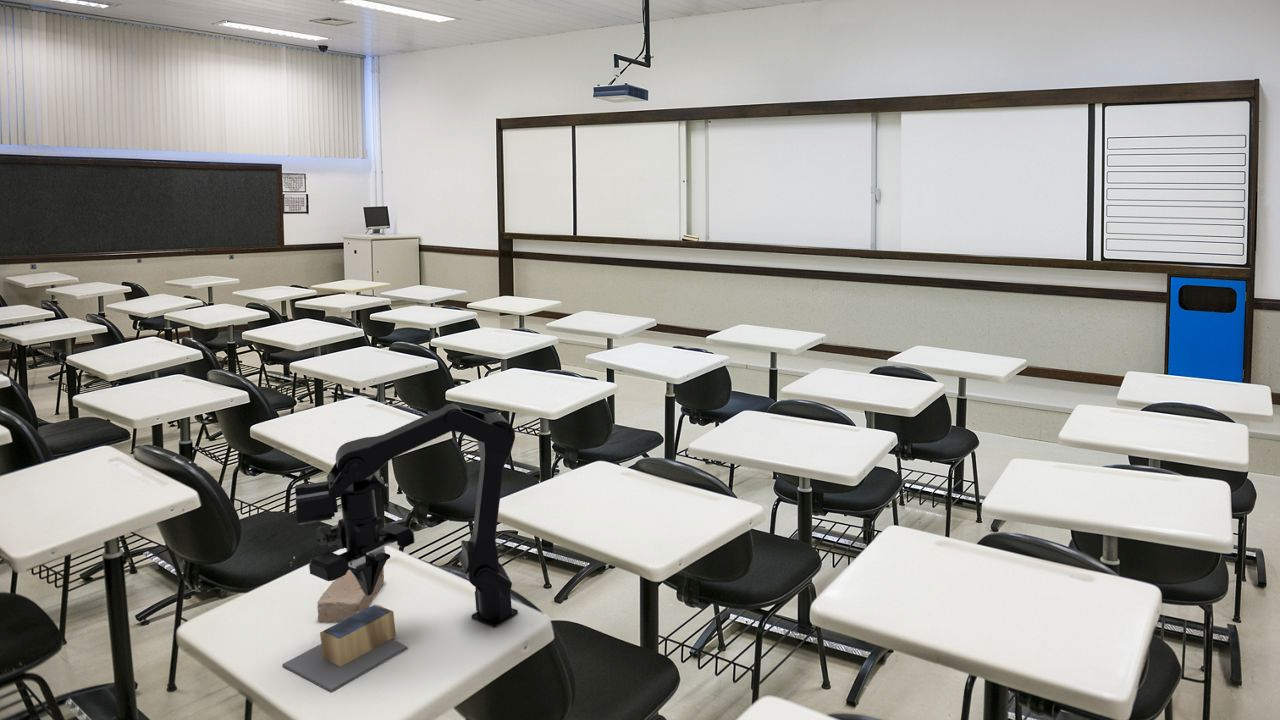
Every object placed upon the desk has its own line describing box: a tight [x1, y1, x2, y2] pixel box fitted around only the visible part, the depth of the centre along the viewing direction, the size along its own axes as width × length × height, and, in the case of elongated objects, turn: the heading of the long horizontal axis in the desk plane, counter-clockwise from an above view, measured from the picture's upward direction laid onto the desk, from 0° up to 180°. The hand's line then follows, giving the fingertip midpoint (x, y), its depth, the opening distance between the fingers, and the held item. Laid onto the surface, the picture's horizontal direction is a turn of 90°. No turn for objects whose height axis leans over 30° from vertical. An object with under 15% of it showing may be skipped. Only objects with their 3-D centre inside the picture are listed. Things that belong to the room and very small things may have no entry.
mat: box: [281, 638, 408, 693], centre depth 161 cm, size 14×16×1 cm
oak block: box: [319, 603, 397, 667], centre depth 163 cm, size 5×5×12 cm
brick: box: [317, 566, 385, 624], centre depth 181 cm, size 17×8×5 cm, turn 178°
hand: (368, 594), depth 164 cm, fingers closed
